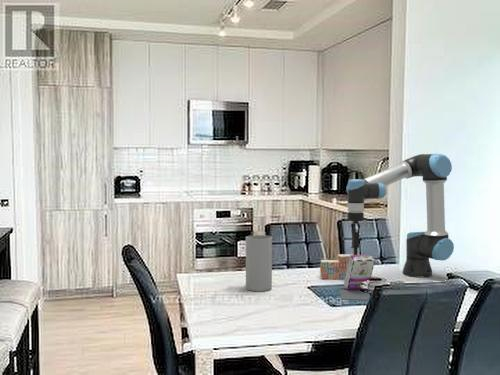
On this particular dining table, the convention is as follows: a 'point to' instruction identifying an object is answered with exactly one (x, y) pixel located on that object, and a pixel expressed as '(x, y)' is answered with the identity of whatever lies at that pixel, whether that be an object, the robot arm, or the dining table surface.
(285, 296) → the dining table surface
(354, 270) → the candy bar box
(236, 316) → the dining table surface
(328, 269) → the stack of blocks
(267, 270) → the cylinder vase
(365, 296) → the mat
